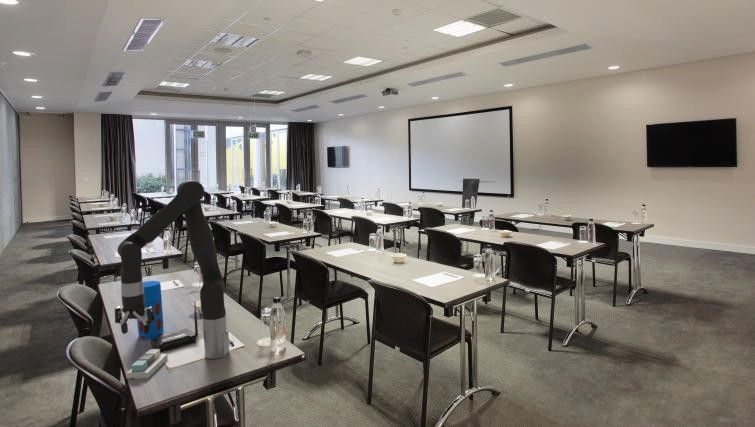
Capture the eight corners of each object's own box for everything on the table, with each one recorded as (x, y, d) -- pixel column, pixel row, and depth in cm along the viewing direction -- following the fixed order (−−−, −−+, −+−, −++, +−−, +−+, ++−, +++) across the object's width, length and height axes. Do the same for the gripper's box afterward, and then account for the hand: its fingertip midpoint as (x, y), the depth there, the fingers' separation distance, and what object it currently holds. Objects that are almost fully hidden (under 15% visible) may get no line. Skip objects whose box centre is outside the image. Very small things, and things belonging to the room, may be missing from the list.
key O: (147, 367, 170) (147, 360, 169) (142, 372, 166) (141, 365, 165) (137, 367, 170) (137, 360, 169) (132, 372, 166) (131, 365, 165)
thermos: (150, 340, 200) (147, 288, 196) (133, 337, 203) (129, 286, 200) (169, 331, 210) (165, 281, 207) (151, 329, 213) (148, 280, 210)
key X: (154, 361, 175) (153, 354, 174) (149, 366, 171) (148, 359, 170) (144, 361, 175) (143, 354, 174) (139, 366, 171) (138, 359, 170)
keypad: (167, 359, 181) (167, 353, 181) (148, 378, 165) (147, 372, 165) (148, 359, 181) (148, 353, 180) (127, 378, 165) (126, 372, 165)
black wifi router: (160, 355, 185) (157, 317, 183) (149, 345, 195) (147, 309, 193) (206, 341, 199) (204, 305, 197) (194, 332, 209) (192, 298, 207)
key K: (160, 356, 180) (159, 349, 179) (155, 360, 176) (154, 353, 175) (150, 356, 180) (150, 349, 179) (145, 360, 176) (145, 353, 175)
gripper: (156, 289, 168) (159, 329, 170) (120, 289, 169) (124, 329, 171) (145, 296, 161) (148, 337, 163) (108, 295, 161) (111, 337, 163)
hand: (136, 333), depth 167 cm, fingers open, 8 cm apart
